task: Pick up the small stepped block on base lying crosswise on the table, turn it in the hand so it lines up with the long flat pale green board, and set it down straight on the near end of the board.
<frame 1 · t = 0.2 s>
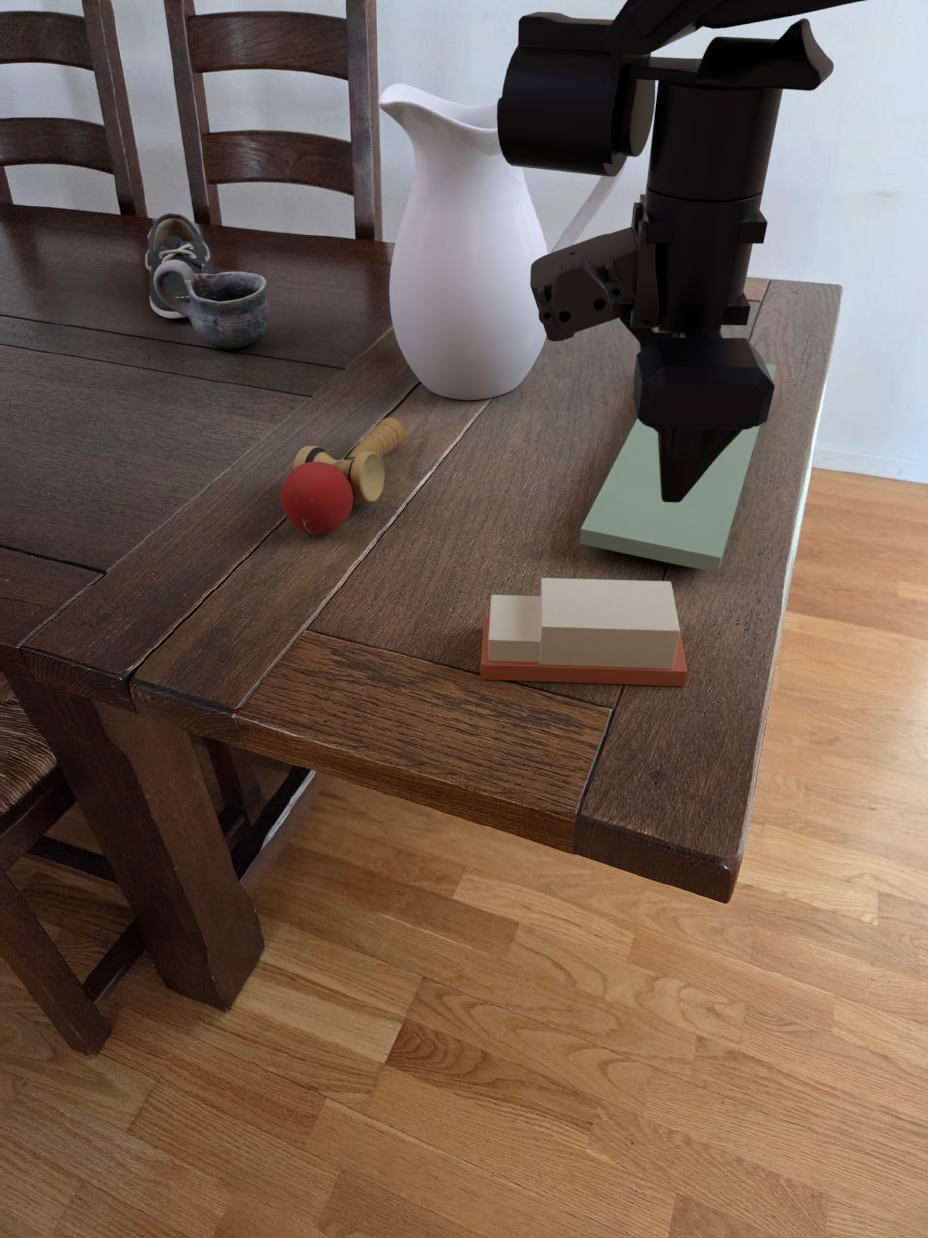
hand: (662, 460, 53), 15 cm above the table, tool pointing down, fingers open, 9 cm apart
kendama: (352, 492, 78), on the table
boat shoe: (186, 293, 117), on the table
mug: (224, 345, 104), on the table
stepped block on base: (580, 656, 61), on the table
flat pale green board: (687, 463, 81), on the table
pitcher: (502, 378, 96), on the table
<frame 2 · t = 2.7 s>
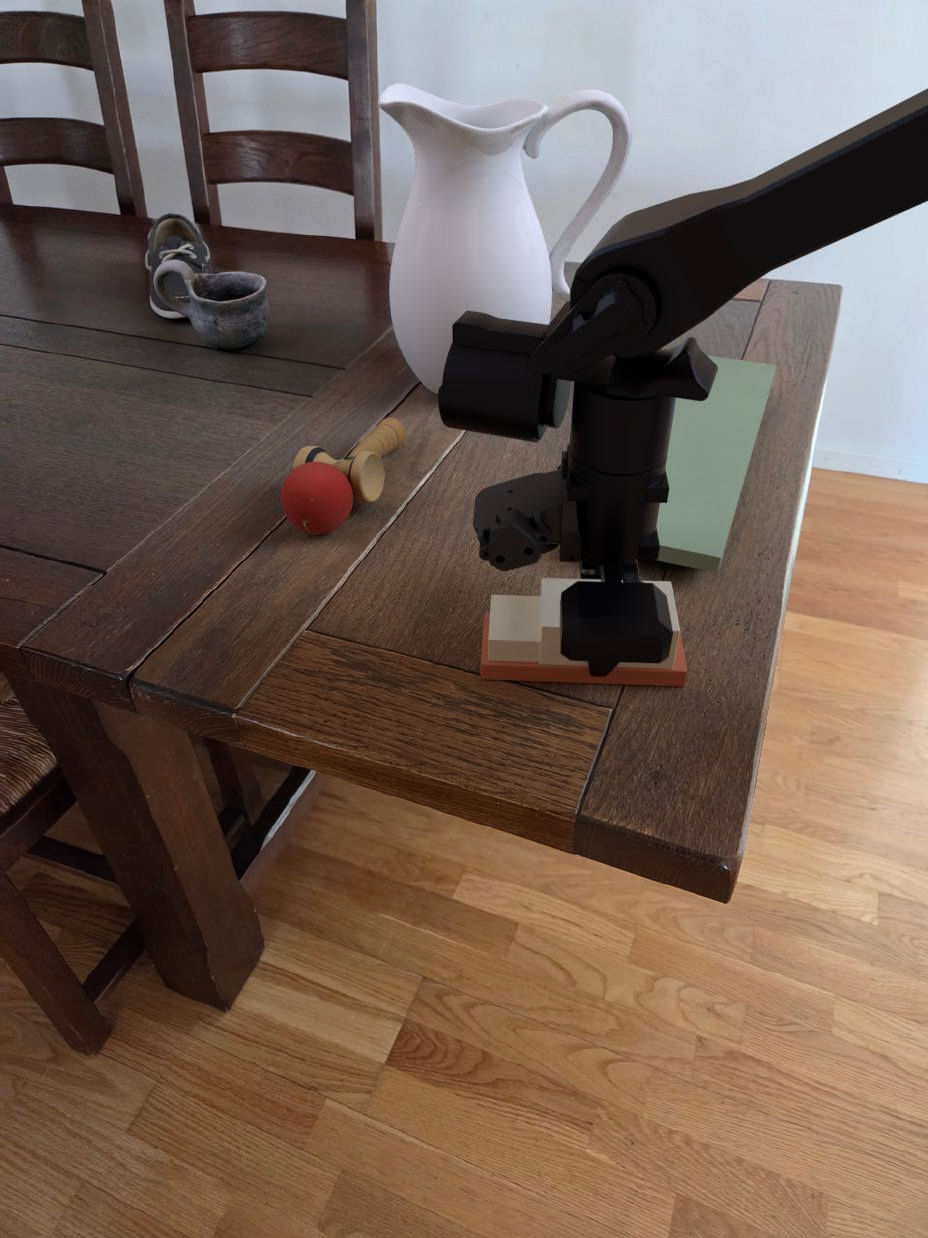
hand: (596, 645, 61), 1 cm above the table, tool pointing down, fingers closed on stepped block on base, 5 cm apart
stepped block on base: (580, 656, 61), on the table, touching gripper
everything else where it was.
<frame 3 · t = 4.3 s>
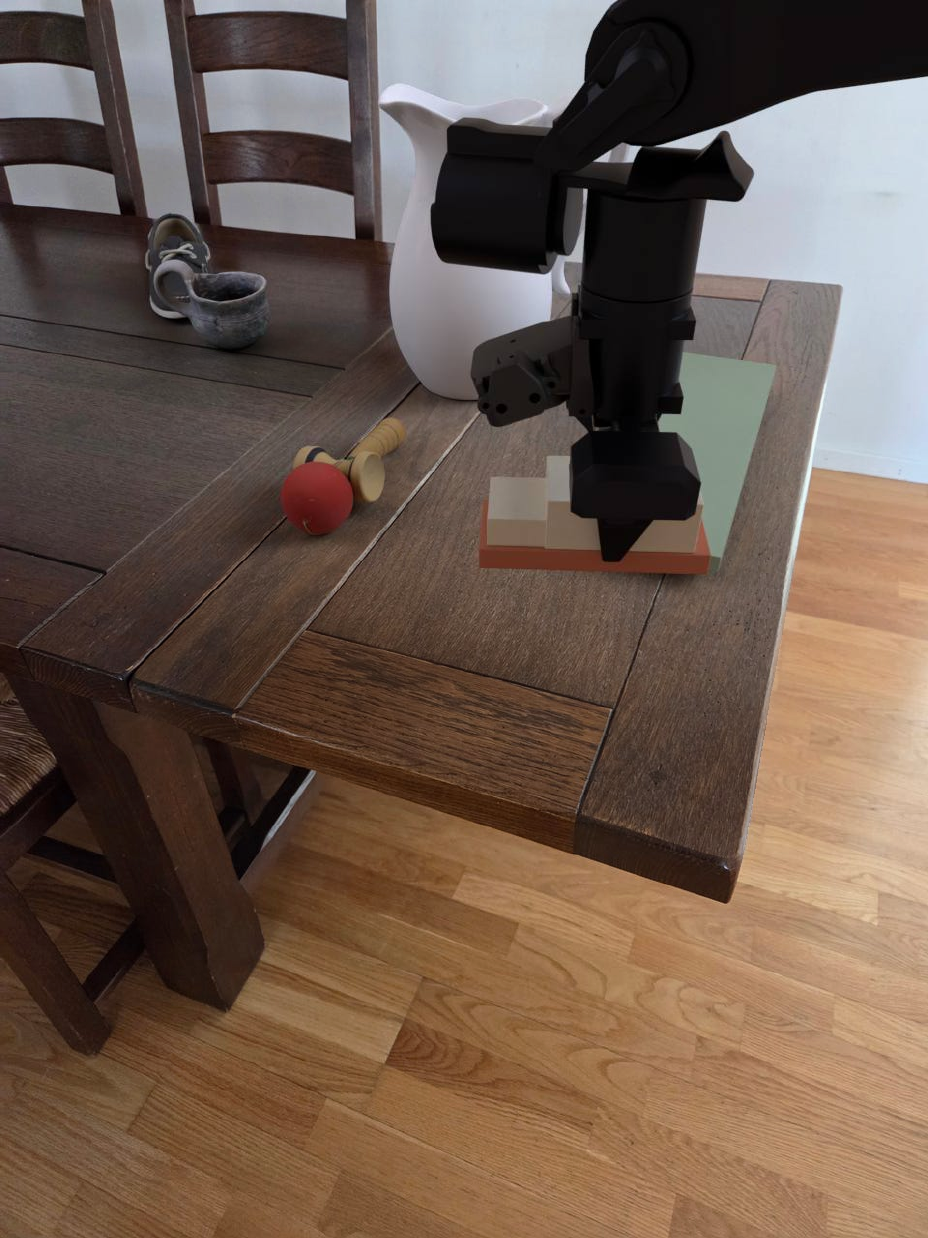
hand: (608, 532, 54), 11 cm above the table, tool pointing down, fingers closed on stepped block on base, 5 cm apart
stepped block on base: (590, 545, 55), point 10 cm above the table, touching gripper
everything else where it was.
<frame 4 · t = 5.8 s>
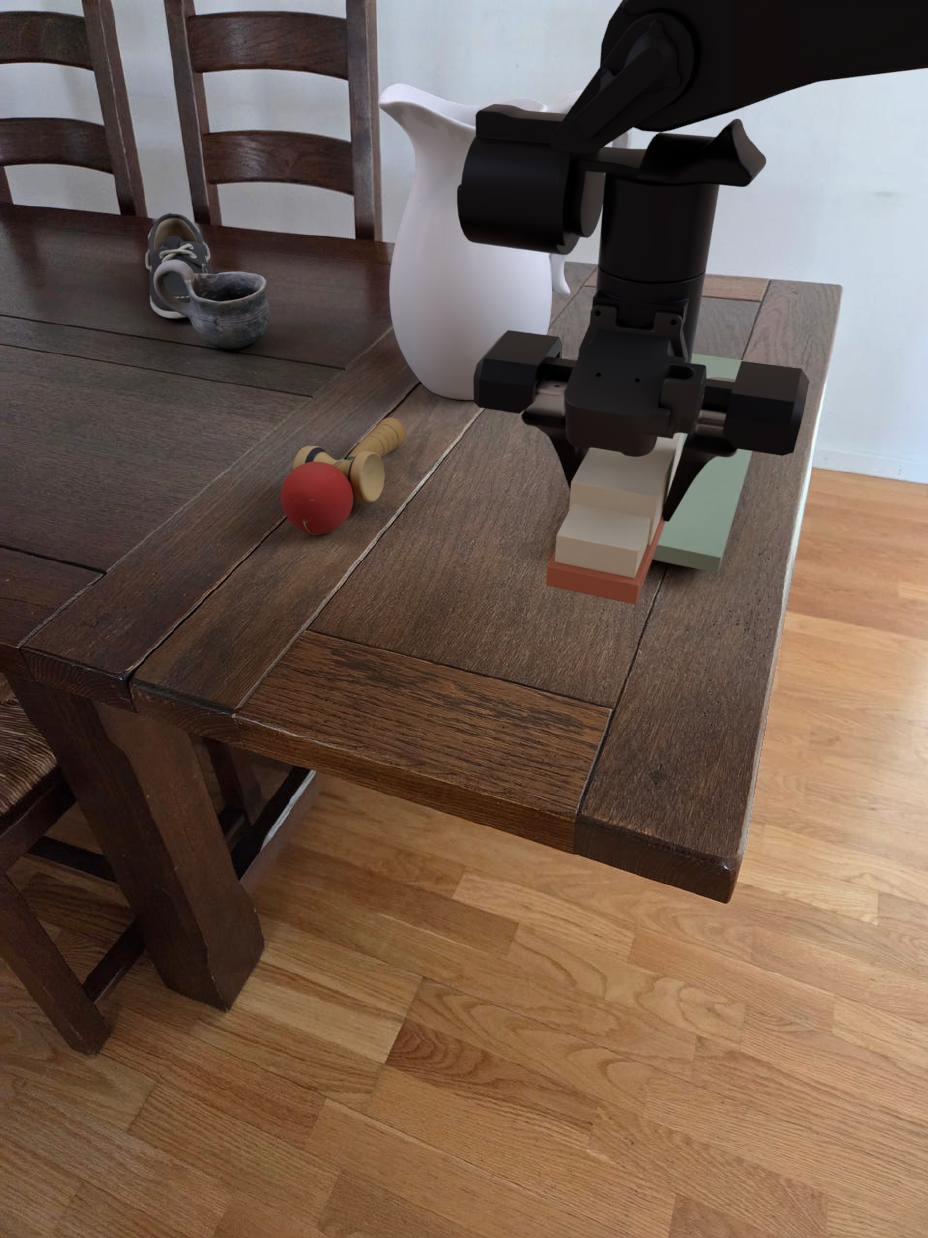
hand: (622, 509, 56), 11 cm above the table, tool pointing down, fingers closed on stepped block on base, 5 cm apart
stepped block on base: (617, 531, 56), point 10 cm above the table, touching gripper
everything else where it was.
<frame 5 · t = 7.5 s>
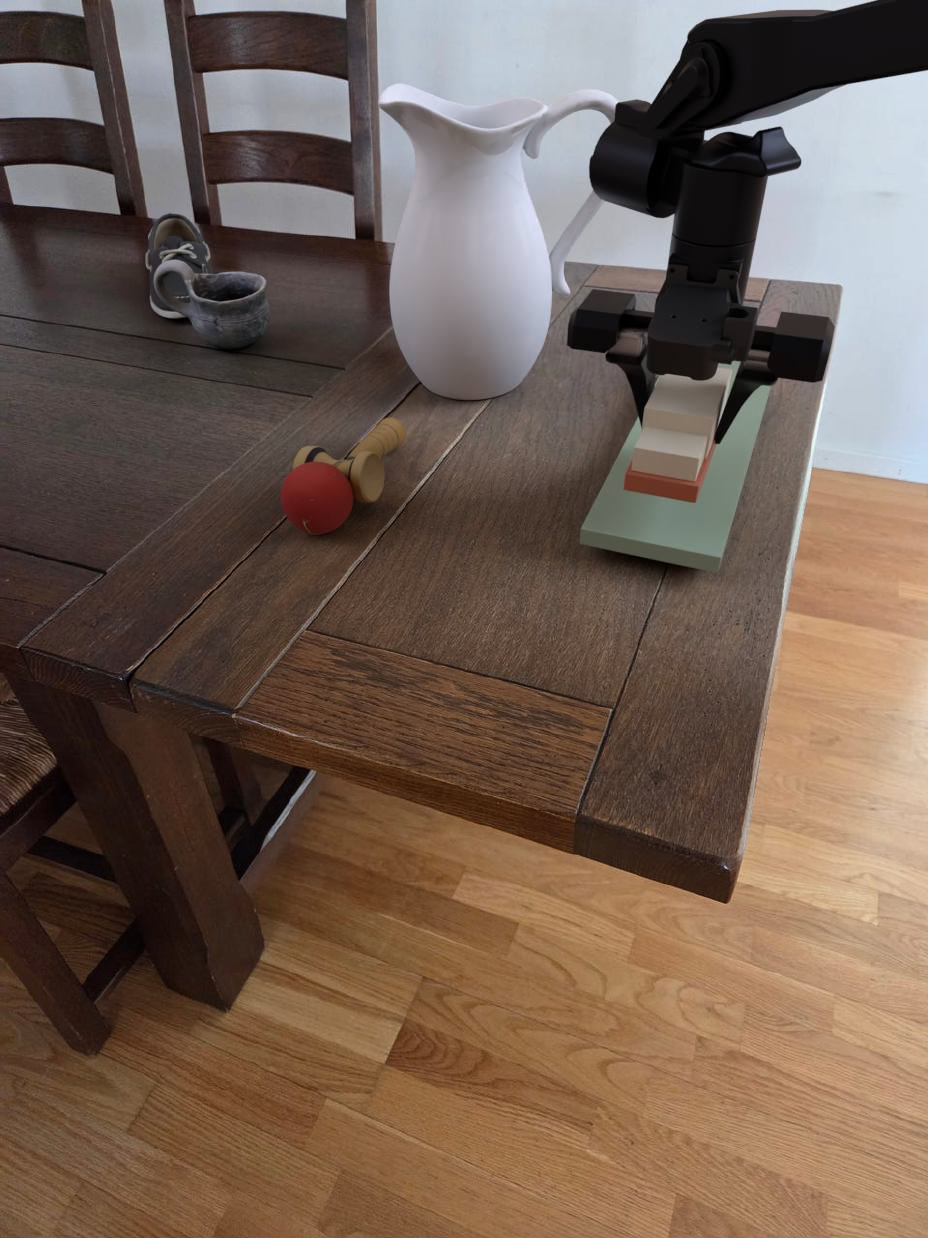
hand: (681, 435, 70), 8 cm above the table, tool pointing down, fingers closed on stepped block on base, 5 cm apart
stepped block on base: (677, 452, 70), point 7 cm above the table, touching gripper
everything else where it was.
when the fingers open (4 cm above the table, at t = 8.9 s): stepped block on base stays where it is, resting on flat pale green board.
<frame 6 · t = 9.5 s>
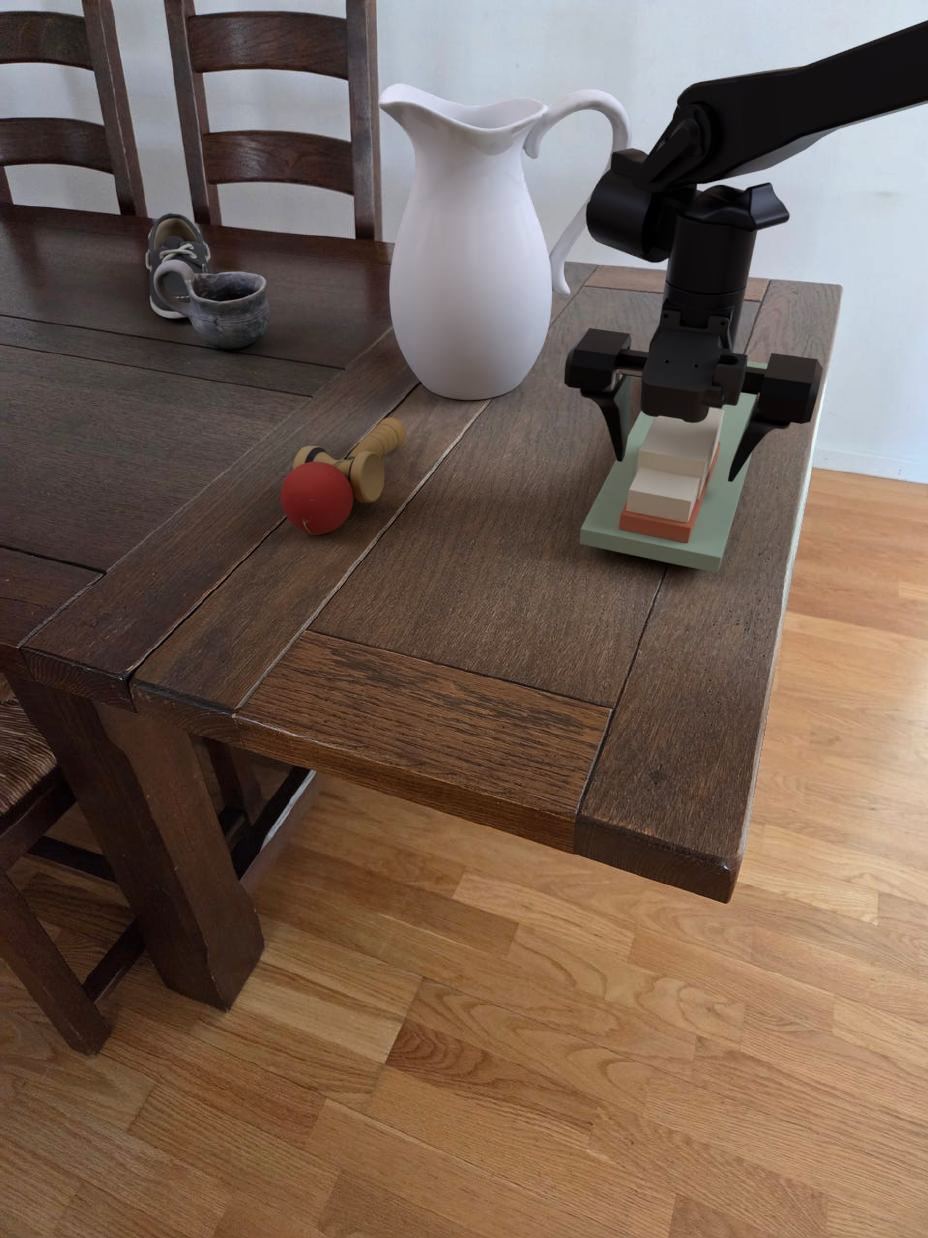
hand: (674, 469, 72), 4 cm above the table, tool pointing down, fingers open, 9 cm apart
stepped block on base: (670, 491, 72), point 3 cm above the table, touching flat pale green board
everything else where it was.
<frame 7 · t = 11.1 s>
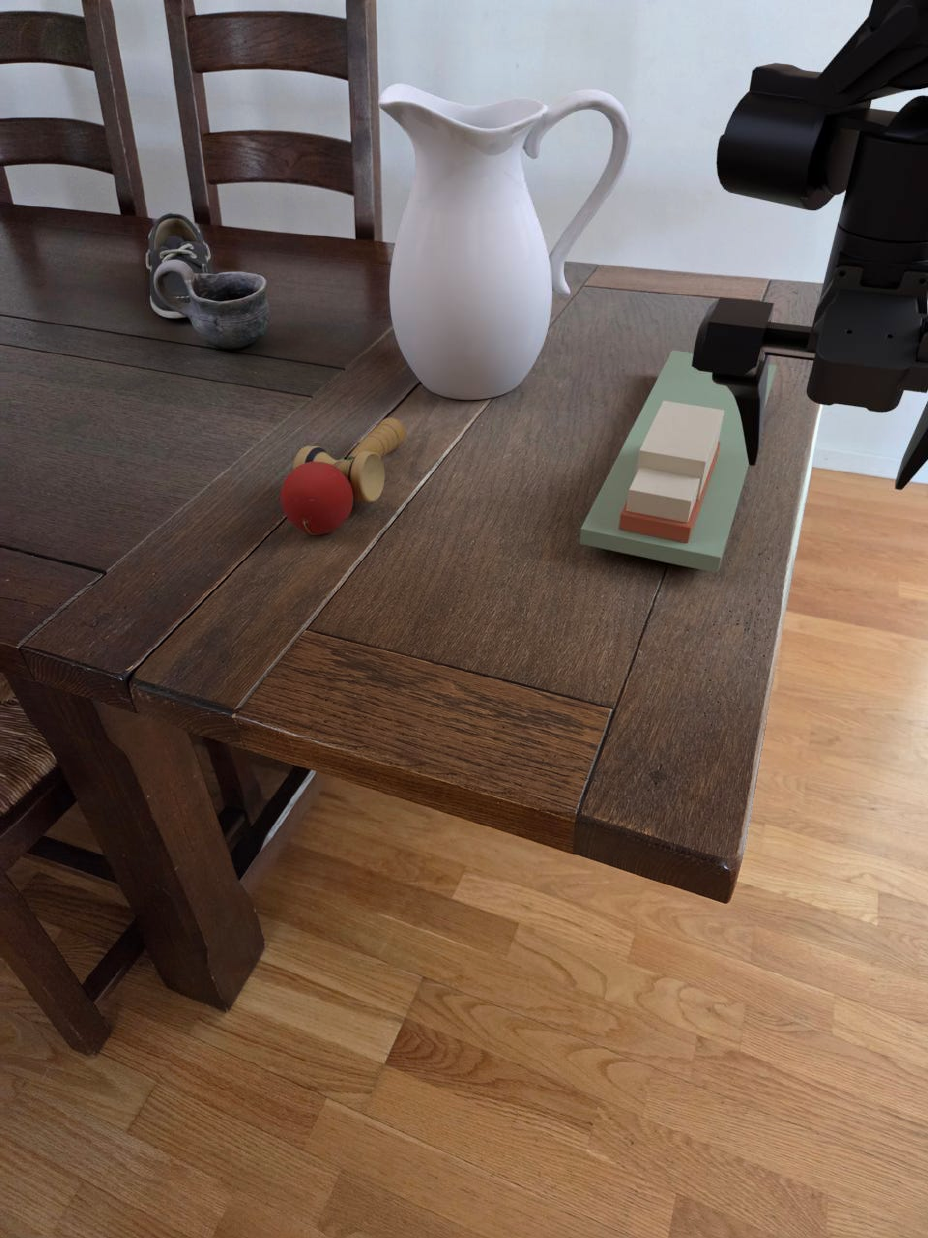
hand: (823, 474, 57), 12 cm above the table, tool pointing down, fingers open, 9 cm apart
nothing on the table moved.
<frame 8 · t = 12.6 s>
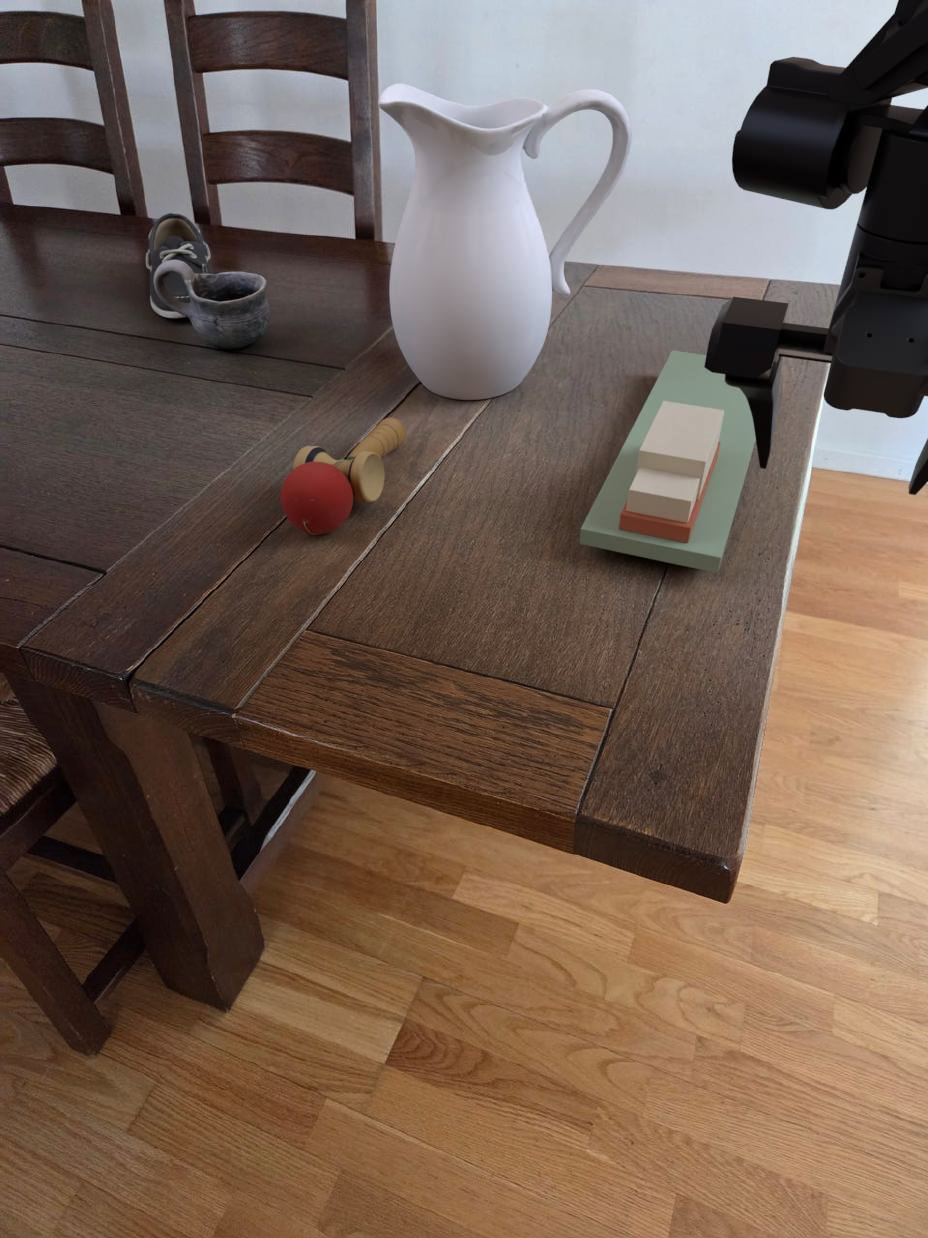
hand: (835, 478, 56), 12 cm above the table, tool pointing down, fingers open, 9 cm apart
nothing on the table moved.
at the end: stepped block on base 0.3 cm from the target spot on the flat pale green board, point 3.0 cm above the flat pale green board's base; stepped block on base tilted 0°; the gripper is holding nothing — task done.
